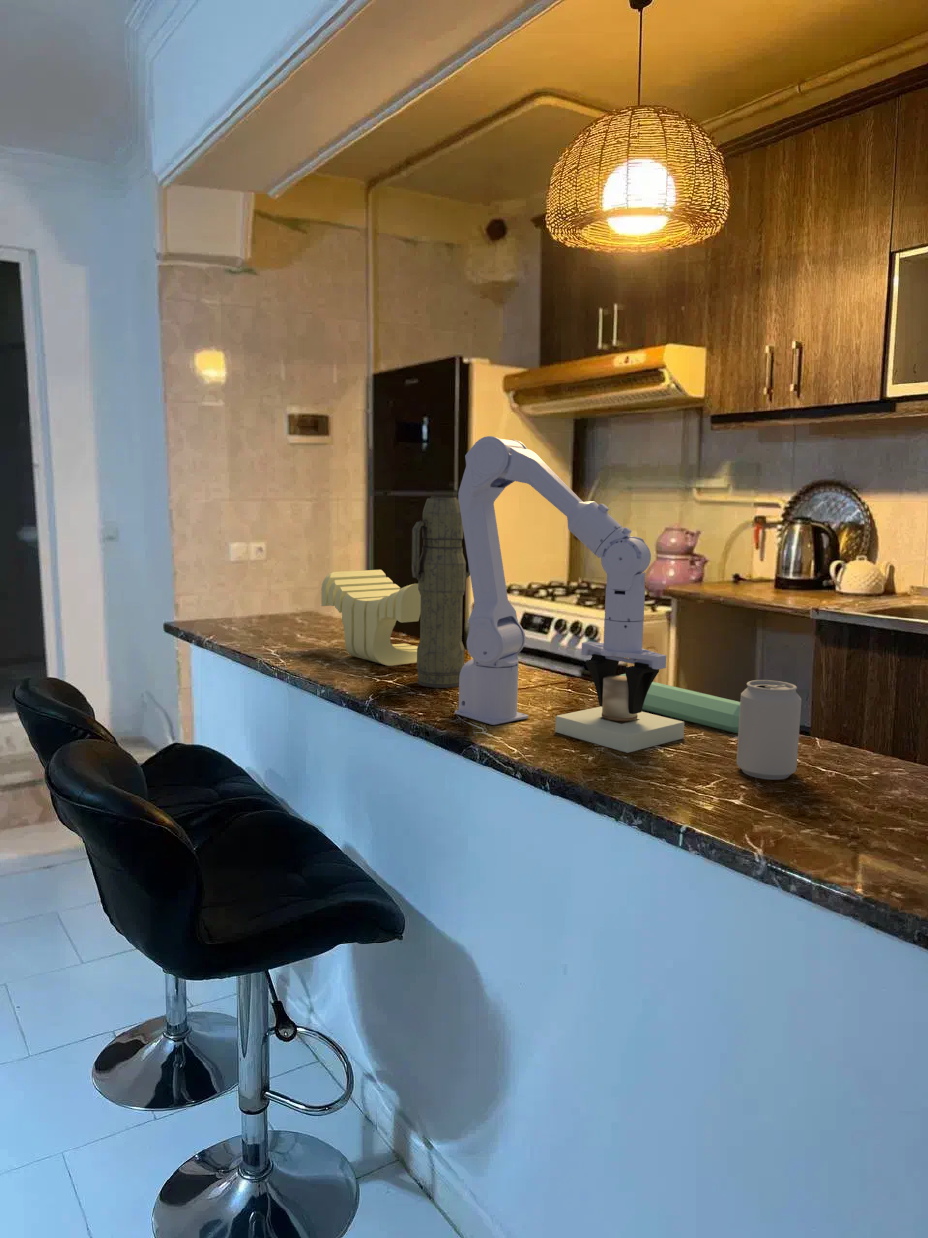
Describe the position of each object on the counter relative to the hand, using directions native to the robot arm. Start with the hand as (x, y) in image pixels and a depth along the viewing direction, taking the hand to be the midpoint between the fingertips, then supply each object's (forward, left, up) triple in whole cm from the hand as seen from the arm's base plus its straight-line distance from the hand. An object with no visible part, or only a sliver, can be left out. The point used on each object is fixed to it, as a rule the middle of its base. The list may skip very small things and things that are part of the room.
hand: (619, 709), depth 136 cm
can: (+24, +1, -4) cm, 24 cm away
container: (-1, +17, -4) cm, 18 cm away
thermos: (-45, +2, -4) cm, 45 cm away
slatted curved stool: (-71, +9, -4) cm, 72 cm away
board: (0, 0, -4) cm, 4 cm away
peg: (0, 0, -3) cm, 3 cm away
